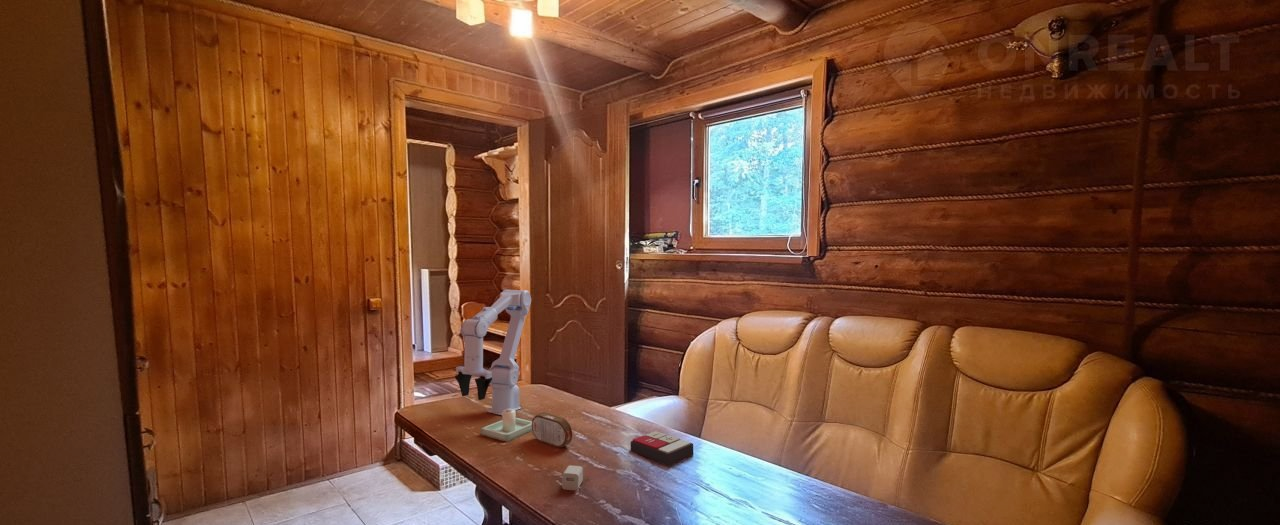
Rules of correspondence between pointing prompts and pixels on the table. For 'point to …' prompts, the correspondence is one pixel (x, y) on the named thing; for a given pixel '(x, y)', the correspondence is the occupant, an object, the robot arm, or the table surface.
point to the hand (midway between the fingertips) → (473, 397)
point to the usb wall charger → (572, 477)
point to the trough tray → (497, 433)
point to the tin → (552, 429)
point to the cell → (508, 420)
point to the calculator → (662, 448)
